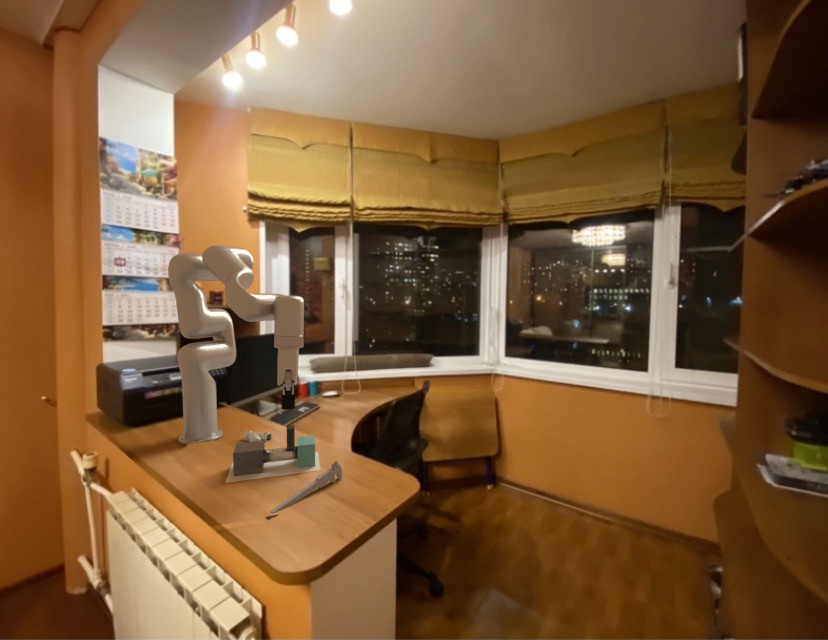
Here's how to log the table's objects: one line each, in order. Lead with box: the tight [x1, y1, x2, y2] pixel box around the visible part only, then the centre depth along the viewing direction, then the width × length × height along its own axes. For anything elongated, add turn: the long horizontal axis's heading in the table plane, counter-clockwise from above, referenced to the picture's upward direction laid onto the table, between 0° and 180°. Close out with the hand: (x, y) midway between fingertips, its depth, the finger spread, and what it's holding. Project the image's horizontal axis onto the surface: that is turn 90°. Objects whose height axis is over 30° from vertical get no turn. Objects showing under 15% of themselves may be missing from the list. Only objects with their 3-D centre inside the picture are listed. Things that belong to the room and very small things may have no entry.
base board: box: [225, 451, 321, 483], centre depth 101 cm, size 12×23×1 cm, turn 108°
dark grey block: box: [232, 441, 266, 476], centre depth 99 cm, size 6×7×6 cm
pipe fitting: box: [242, 430, 273, 444], centre depth 118 cm, size 8×4×7 cm
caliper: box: [265, 460, 343, 521], centre depth 87 cm, size 20×1×6 cm, turn 142°
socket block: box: [296, 434, 316, 468], centre depth 104 cm, size 6×5×6 cm
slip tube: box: [263, 424, 298, 463], centre depth 102 cm, size 3×14×9 cm, turn 108°
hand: (288, 403), depth 102 cm, fingers open, 9 cm apart
